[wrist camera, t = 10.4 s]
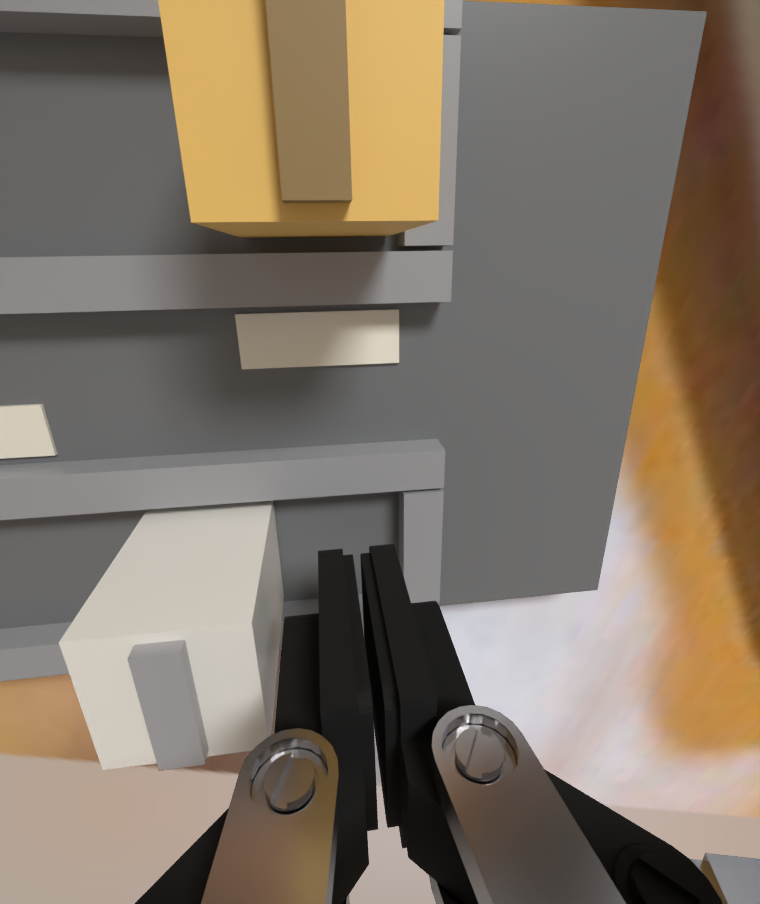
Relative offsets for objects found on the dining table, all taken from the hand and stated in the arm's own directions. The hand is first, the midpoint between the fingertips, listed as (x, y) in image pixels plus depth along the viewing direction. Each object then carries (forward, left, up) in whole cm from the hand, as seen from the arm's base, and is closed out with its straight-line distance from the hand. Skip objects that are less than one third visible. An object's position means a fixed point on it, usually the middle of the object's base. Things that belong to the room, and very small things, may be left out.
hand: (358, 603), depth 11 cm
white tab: (0, -3, -3) cm, 4 cm away
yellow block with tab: (-9, 0, -3) cm, 9 cm away
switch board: (-4, -4, -4) cm, 8 cm away
